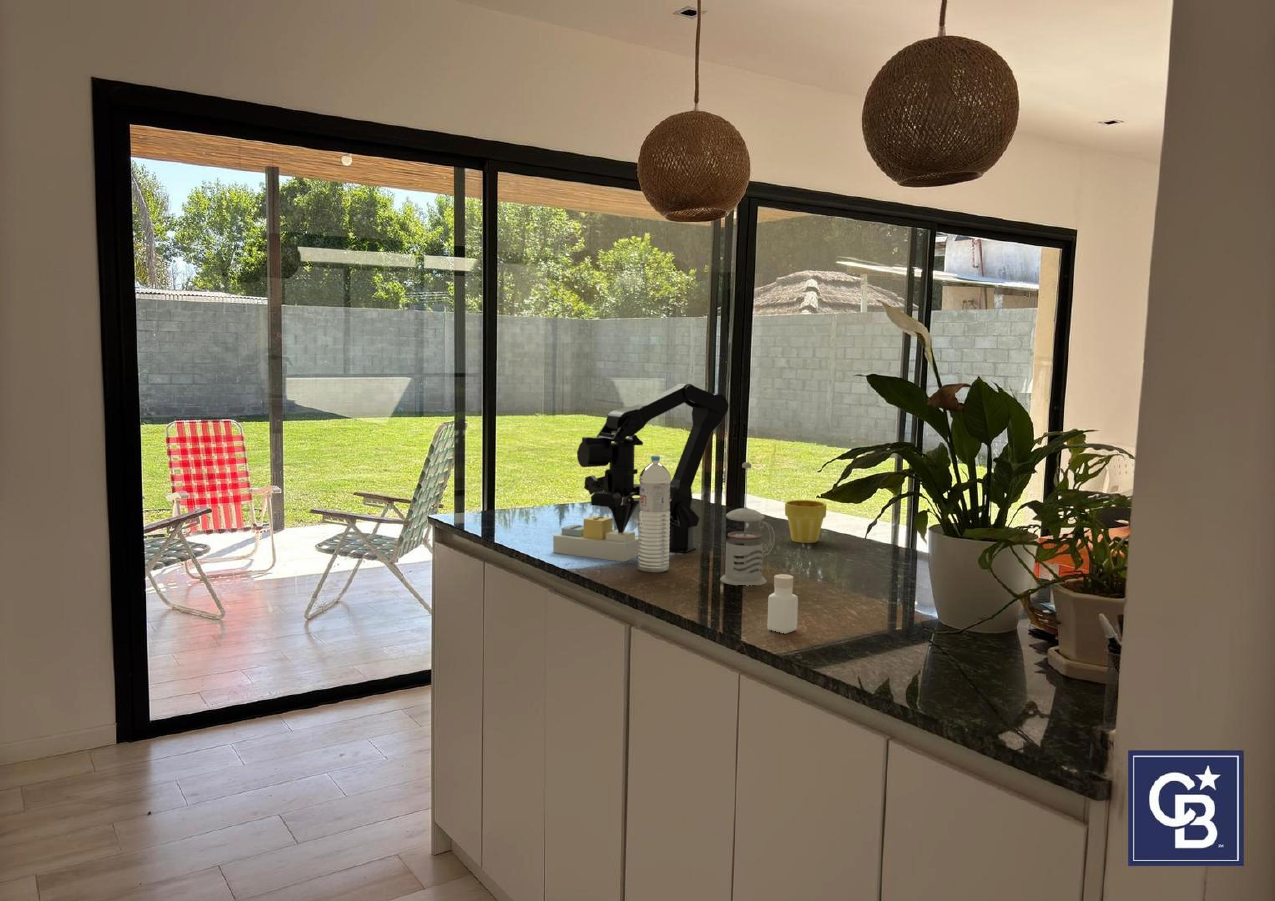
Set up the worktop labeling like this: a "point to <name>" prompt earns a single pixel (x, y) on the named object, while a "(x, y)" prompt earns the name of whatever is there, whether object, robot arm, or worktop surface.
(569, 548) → the panel
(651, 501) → the water bottle
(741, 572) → the french press
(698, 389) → the robot arm
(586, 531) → the mustard tile
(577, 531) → the slate tile
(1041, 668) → the worktop surface
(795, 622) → the white pill bottle
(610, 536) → the cream tile
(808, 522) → the plant pot
